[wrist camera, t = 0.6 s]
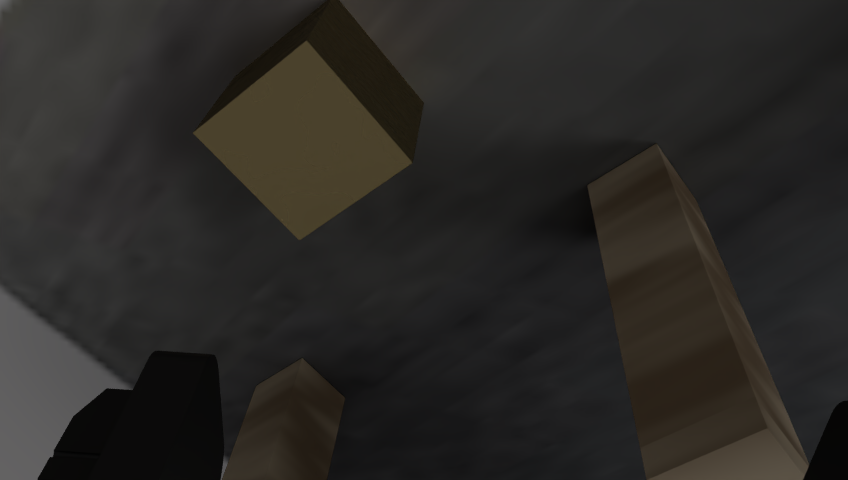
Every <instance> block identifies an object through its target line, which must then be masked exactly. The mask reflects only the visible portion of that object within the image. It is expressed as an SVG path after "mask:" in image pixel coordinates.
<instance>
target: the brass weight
mask: <svg viewBox="0 0 848 480" xmlns="http://www.w3.org/2000/svg"><path fill="white" fill-rule="evenodd" d="M423 104H424V102H423V101H422V100H421V99H420V98H419V96H418V95H417V94H416V93H415V92H414V90H413V89H412V88H411V87H410V85H409V84H408V83H407V82H406V81H405V79H404V78H403V77H402V76H401V75H400V73H399V72H398V71H397V70H396V69H395V67H394V66H393V65H392V64H391V62H390V61H389V60H388V59H387V58H386V56H385V55H384V54H383V53H382V52H381V50H380V49H379V48H378V47H377V46H376V44H375V43H374V42H373V41H372V39H371V38H370V37H369V36H368V35H367V33H366V32H365V31H364V30H363V29H362V27H361V26H360V25H359V24H358V23H357V21H356V20H355V19H354V18H353V16H352V15H351V14H350V13H349V12H348V10H347V9H346V8H345V7H344V6H343V4H342V3H341V2H340V1H339V0H327V1H326V2H325V3H323V4H322V5H321V6H320V7H319V8H317V9H316V10H315V11H314V12H313V13H311V14H310V15H309V16H308V17H306V18H305V19H304V20H303V21H302V22H300V23H299V24H298V25H297V26H296V27H294V28H293V29H292V30H291V31H290V32H288V33H287V34H286V35H285V36H284V37H282V38H281V39H280V40H279V41H277V42H276V43H275V44H274V45H273V46H271V47H270V48H269V49H268V50H267V51H265V52H264V53H263V54H262V55H261V56H259V57H258V58H257V59H256V60H255V61H253V62H252V63H251V64H250V65H248V66H247V67H246V68H245V69H244V70H242V71H241V72H240V73H239V74H238V75H236V76H235V77H234V78H233V80H232V81H231V82H230V84H229V85H228V87H227V88H226V89H225V91H224V92H223V93H222V95H221V96H220V97H219V99H218V100H217V101H216V103H215V104H214V105H213V107H212V108H211V109H210V111H209V112H208V113H207V115H206V116H205V117H204V119H203V120H202V121H201V123H200V124H199V125H198V127H197V128H196V129H195V131H194V132H193V134H194V135H195V136H196V137H197V138H198V139H199V140H200V141H201V142H202V143H203V144H204V145H205V146H206V147H207V148H208V149H209V150H210V151H211V152H212V153H213V154H214V155H215V156H216V157H217V158H218V159H219V160H220V161H221V162H222V163H223V164H224V165H225V166H226V167H227V168H228V169H229V170H230V171H231V172H232V173H233V174H234V175H235V176H236V177H237V178H238V179H239V180H240V181H241V182H242V183H243V184H244V185H245V186H246V187H247V188H248V189H249V190H250V191H251V192H252V193H253V194H254V195H255V196H256V197H257V198H258V199H259V200H260V201H261V202H262V203H263V204H264V205H265V206H266V207H267V208H268V209H269V210H270V211H271V212H272V213H273V214H274V215H275V216H276V217H277V218H278V219H279V220H280V221H281V223H282V224H283V225H284V226H285V227H286V228H287V229H288V230H289V231H290V232H291V233H292V234H293V235H294V236H295V237H296V238H297V239H298V240H301V239H302V238H304V237H305V236H307V235H308V234H310V233H311V232H313V231H314V230H315V229H317V228H318V227H320V226H321V225H323V224H324V223H326V222H327V221H329V220H330V219H331V218H333V217H334V216H336V215H337V214H339V213H340V212H342V211H343V210H345V209H346V208H348V207H349V206H350V205H352V204H353V203H355V202H356V201H358V200H359V199H361V198H362V197H364V196H365V195H366V194H368V193H369V192H371V191H372V190H374V189H375V188H377V187H378V186H380V185H381V184H382V183H384V182H385V181H387V180H388V179H390V178H391V177H393V176H394V175H396V174H397V173H399V172H400V171H401V170H403V169H404V168H406V167H407V166H409V165H410V164H412V163H413V158H414V153H415V147H416V142H417V137H418V131H419V126H420V121H421V115H422V110H423Z"/></svg>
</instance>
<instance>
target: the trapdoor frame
mask: <svg viewBox="0 0 848 480" xmlns="http://www.w3.org/2000/svg"><path fill="white" fill-rule="evenodd" d="M587 187H588V192H589V197H590V202H591V207H592V212H593V217H594V221H595V226H596V231H597V236H598V241H599V246H600V251H601V256H602V261H603V266H604V271H605V276H606V281H607V286H608V291H609V296H610V301H611V306H612V311H613V316H614V321H615V325H616V330H617V335H618V340H619V345H620V350H621V355H622V360H623V365H624V370H625V375H626V380H627V385H628V390H629V395H630V400H631V405H632V410H633V415H634V420H635V424H636V429H637V434H638V439H639V444H640V449H641V454H642V459H643V464H644V469H645V474H646V479H647V480H803V479H804V476H805V474H806V472H807V469H808V467H809V463H808V461H807V458H806V456H805V454H804V451H803V449H802V447H801V444H800V442H799V440H798V437H797V435H796V433H795V430H794V428H793V426H792V423H791V421H790V419H789V416H788V414H787V412H786V409H785V407H784V404H783V402H782V400H781V397H780V395H779V393H778V390H777V388H776V386H775V383H774V381H773V379H772V376H771V374H770V372H769V369H768V367H767V365H766V362H765V360H764V358H763V355H762V353H761V351H760V348H759V346H758V344H757V341H756V339H755V337H754V334H753V332H752V330H751V327H750V325H749V323H748V320H747V318H746V316H745V313H744V311H743V309H742V306H741V304H740V302H739V299H738V297H737V295H736V292H735V290H734V288H733V285H732V283H731V281H730V278H729V276H728V273H727V271H726V269H725V266H724V264H723V262H722V259H721V257H720V255H719V252H718V250H717V248H716V245H715V243H714V241H713V238H712V236H711V234H710V231H709V229H708V227H707V224H706V222H705V220H704V217H703V215H702V213H701V210H700V208H699V206H698V203H697V201H696V199H695V198H694V196H693V195H692V193H691V192H690V191H689V189H688V188H687V186H686V185H685V183H684V182H683V181H682V179H681V178H680V176H679V175H678V173H677V172H676V171H675V169H674V168H673V166H672V165H671V163H670V162H669V160H668V159H667V158H666V156H665V155H664V153H663V152H662V150H661V149H660V148H659V146H658V145H657V143H656V144H654V145H653V146H651V147H649V148H648V149H646V150H645V151H643V152H641V153H640V154H638V155H636V156H635V157H633V158H631V159H630V160H628V161H626V162H625V163H623V164H621V165H620V166H618V167H616V168H615V169H613V170H611V171H610V172H608V173H607V174H605V175H603V176H602V177H600V178H598V179H597V180H595V181H593V182H592V183H590V184H588V185H587ZM344 401H345V397H344V396H343V395H341V394H340V393H339V392H338V391H337V390H336V389H335V388H334V387H333V386H332V385H331V384H330V383H329V382H328V381H326V380H325V379H324V378H323V377H322V376H321V375H320V374H319V373H318V372H317V371H316V370H315V369H314V368H312V367H311V366H310V365H309V364H308V363H307V362H306V361H305V360H304V359H303V358H301V359H299V360H298V361H296V362H295V363H293V364H291V365H290V366H288V367H286V368H285V369H283V370H281V371H280V372H278V373H276V374H275V375H273V376H271V377H270V378H268V379H266V380H265V381H263V382H262V383H260V384H258V385H257V386H256V388H255V390H254V393H253V396H252V399H251V401H250V404H249V407H248V410H247V412H246V415H245V418H244V421H243V423H242V426H241V429H240V431H239V434H238V437H237V440H236V442H235V445H234V448H233V451H232V453H231V456H230V459H229V462H228V464H227V467H226V470H225V473H224V476H223V478H222V480H327V477H328V472H329V468H330V464H331V459H332V455H333V450H334V446H335V441H336V437H337V432H338V428H339V423H340V419H341V415H342V410H343V406H344Z"/></svg>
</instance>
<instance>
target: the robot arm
mask: <svg viewBox="0 0 848 480" xmlns="http://www.w3.org/2000/svg"><path fill="white" fill-rule="evenodd" d="M223 456H224V437H223V424H222V411H221V398H220V385H219V372H218V363H217V359H216V357H215V355H212V354H198V353H183V352H169V351H155V352H153V353H152V354H151V356H150V357H149V359H148V361H147V363H146V365H145V367H144V369H143V371H142V373H141V375H140V377H139V379H138V381H137V383H136V385H135V387H134V389H133V390H122V389H106V390H104V391H103V392H102V393H101V394H100V395H98V396H97V397H96V398H95V399H94V400H92V401H91V402H90V403H89V404H88V405H86V406H85V407H84V408H83V409H82V410H80V411H79V412H78V413H77V414H76V415H74V416H73V418H72V420H71V421H70V423H69V425H68V427H67V428H66V430H65V432H64V434H63V435H62V437H61V439H60V441H59V442H58V444H57V446H56V448H55V449H54V455H53V457H50V458H49V460H48V461H47V463H46V465H45V467H44V469H43V470H42V472H41V474H40V475H39V477H38V480H220V479H221V473H222V466H223ZM803 480H848V401H843V402H841V403H839V404H838V405H837V406H836V407H835V409H834V410H833V412H832V414H831V416H830V419H829V421H828V423H827V426H826V428H825V430H824V432H823V435H822V437H821V439H820V442H819V444H818V446H817V449H816V451H815V453H814V455H813V458H812V460H811V462H810V465H809V467H808V469H807V472H806V474H805V476H804V479H803Z"/></svg>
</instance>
